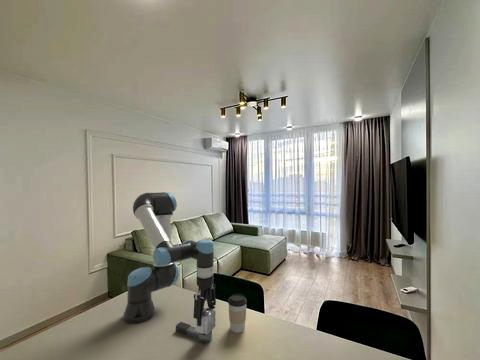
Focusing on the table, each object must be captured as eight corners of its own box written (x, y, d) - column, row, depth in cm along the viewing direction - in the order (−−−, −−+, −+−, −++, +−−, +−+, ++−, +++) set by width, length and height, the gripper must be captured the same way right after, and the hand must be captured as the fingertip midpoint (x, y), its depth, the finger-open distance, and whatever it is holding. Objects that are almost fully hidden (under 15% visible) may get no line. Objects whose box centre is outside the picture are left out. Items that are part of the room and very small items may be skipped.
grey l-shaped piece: (214, 337, 102) (214, 318, 102) (206, 345, 96) (206, 325, 97) (182, 326, 110) (182, 308, 110) (173, 333, 105) (173, 314, 105)
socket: (195, 330, 99) (195, 312, 99) (203, 322, 105) (203, 305, 105) (207, 334, 96) (207, 315, 97) (215, 326, 102) (215, 308, 102)
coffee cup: (245, 335, 103) (244, 302, 103) (225, 333, 105) (225, 300, 105) (248, 323, 112) (248, 293, 112) (230, 321, 114) (230, 291, 114)
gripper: (198, 285, 91) (198, 343, 90) (223, 269, 108) (223, 318, 108) (184, 281, 94) (184, 338, 94) (210, 267, 112) (210, 314, 111)
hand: (205, 327), depth 101 cm, fingers closed on socket, 6 cm apart
